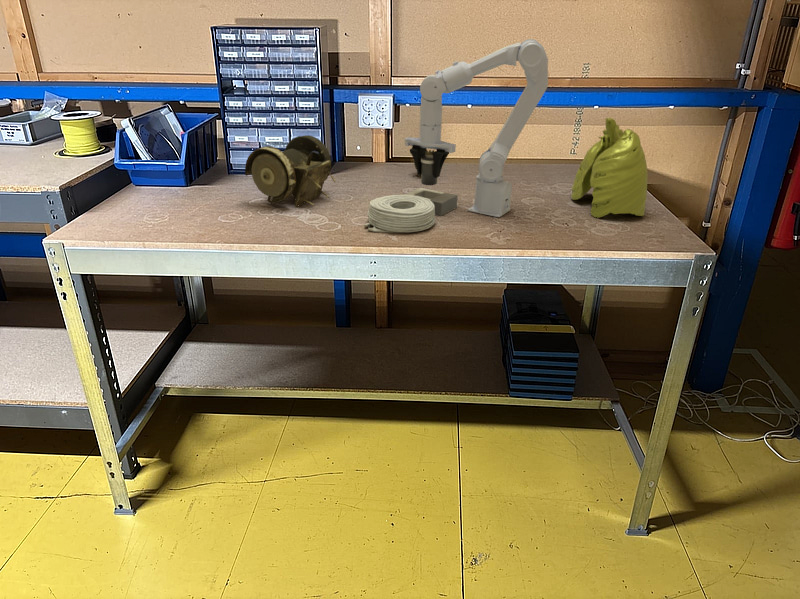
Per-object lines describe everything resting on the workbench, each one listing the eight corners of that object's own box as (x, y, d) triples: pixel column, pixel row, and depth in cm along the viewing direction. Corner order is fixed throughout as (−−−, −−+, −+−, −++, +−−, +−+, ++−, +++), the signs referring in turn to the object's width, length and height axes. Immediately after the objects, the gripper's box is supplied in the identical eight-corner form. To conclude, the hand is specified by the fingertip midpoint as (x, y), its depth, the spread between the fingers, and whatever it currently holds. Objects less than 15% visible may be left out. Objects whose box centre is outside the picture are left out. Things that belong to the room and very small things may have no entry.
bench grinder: (235, 189, 162) (252, 128, 149) (284, 168, 179) (303, 111, 166) (291, 231, 159) (313, 172, 146) (336, 206, 176) (359, 150, 163)
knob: (433, 186, 158) (433, 161, 154) (417, 183, 160) (417, 158, 156) (440, 181, 161) (441, 156, 158) (425, 178, 163) (425, 154, 159)
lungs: (562, 194, 176) (575, 111, 165) (611, 193, 178) (627, 111, 167) (595, 222, 154) (612, 129, 143) (651, 221, 156) (672, 129, 145)
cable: (361, 233, 144) (361, 209, 142) (374, 210, 160) (373, 189, 157) (431, 238, 142) (433, 214, 140) (437, 214, 158) (438, 193, 155)
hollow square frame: (456, 207, 163) (457, 195, 161) (441, 215, 156) (441, 203, 155) (420, 199, 169) (420, 187, 167) (403, 207, 162) (403, 195, 160)
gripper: (462, 125, 152) (458, 176, 158) (414, 118, 159) (413, 168, 165) (449, 129, 147) (446, 182, 153) (401, 122, 154) (400, 173, 160)
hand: (428, 175), depth 159 cm, fingers closed on knob, 4 cm apart
